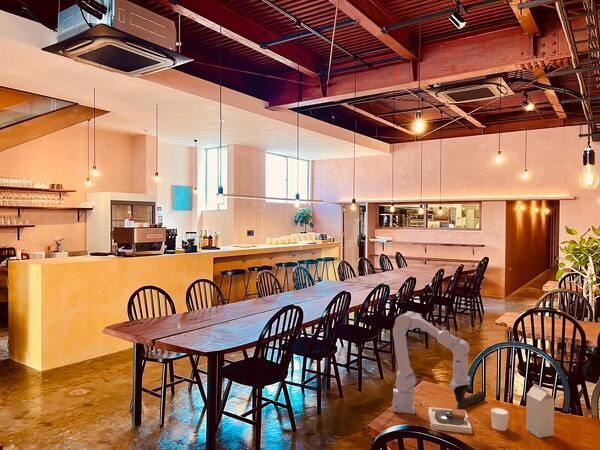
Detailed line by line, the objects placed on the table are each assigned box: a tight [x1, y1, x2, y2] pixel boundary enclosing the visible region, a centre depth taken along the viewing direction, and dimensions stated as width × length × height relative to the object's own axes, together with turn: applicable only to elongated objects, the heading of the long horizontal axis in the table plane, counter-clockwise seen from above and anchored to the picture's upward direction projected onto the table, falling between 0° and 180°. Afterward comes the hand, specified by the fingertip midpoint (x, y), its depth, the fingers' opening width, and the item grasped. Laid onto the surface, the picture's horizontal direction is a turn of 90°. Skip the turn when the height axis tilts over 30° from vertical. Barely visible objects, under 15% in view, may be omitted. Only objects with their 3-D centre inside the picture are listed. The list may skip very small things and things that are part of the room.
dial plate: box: [427, 406, 473, 435], centre depth 188 cm, size 16×16×2 cm
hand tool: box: [456, 391, 486, 410], centre depth 205 cm, size 19×4×5 cm, turn 123°
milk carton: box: [525, 383, 555, 439], centre depth 179 cm, size 7×7×19 cm
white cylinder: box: [490, 407, 510, 432], centre depth 183 cm, size 7×7×7 cm
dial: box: [435, 408, 467, 425], centre depth 187 cm, size 12×12×4 cm
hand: (459, 401), depth 184 cm, fingers closed
